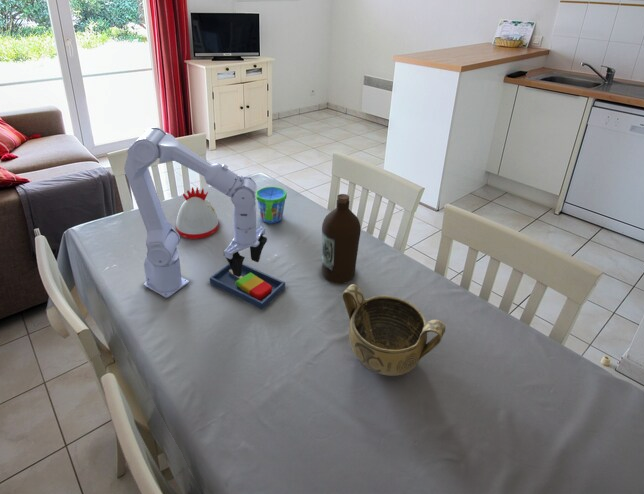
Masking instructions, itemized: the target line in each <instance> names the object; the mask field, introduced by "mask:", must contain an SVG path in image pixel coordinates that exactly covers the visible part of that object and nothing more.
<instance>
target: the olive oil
mask: <svg viewBox="0 0 644 494" xmlns="http://www.w3.org/2000/svg"><path fill="white" fill-rule="evenodd" d="M361 230H362V228H361V223H360V220H359V218H358V216H357V215H356V214H355V213H354V212H353V211H352V210H351V209H350V196H349V194H346V193H339V194H338V195H337V197H336V207H335V208H334V209H333V210H331V211H329V212H328V214H327V215H325V217H324V219H323V221H322V224H321V274H322V276H323V278H324V279H325V280H326V281H328V282H330V283H333V284H338V285H340V284H347V283H349V282H351V281H352V280H353V279H354V278H355V275H356V267H357V259H358V252H359V245H360V239H361Z"/></svg>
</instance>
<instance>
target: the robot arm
mask: <svg viewBox="0 0 644 494" xmlns="http://www.w3.org/2000/svg"><path fill="white" fill-rule="evenodd" d="M126 153H127V154H126V159H125V164H124V167H123V170H124V174H125V177H126V179H127V181H128V184H129V187H130V189H131V192H132V195H133V197H134V200H135V203H136V205H137V208H138V211H139V214H140V216H141V219H142V222H143V225H144V227H145V230H146V237H145V238H146V239H145V246H146V249H147V251H146V256H145V259H144V261H143V268H144V276H145V282H144V283H143V286H144V287H146V288H147V289H149V290H151V291H153V292H155V293H157V294H158V295H160V296H162V297H164V298H166V299H168V298H169V297H171V296H172V295H174V294H175V293H177V292H178V291H179V290H181V289H182V288H184V287H186V285H187V284H189V283H190V282H189V280H188V279H186V278H185V277H182V272H181V270H182V269H181V262H180V261H181V260H180V253H179V251H178V245H179V243H180V242H181V235H179V234H178V232H177V230H175V228H174V227H173V224H172V223H171V222H169V221H167V218H166V215H165V212H164V210H163V207H162V203H161V200H160V198H159V195H158V192H157V189H156V187H155V183H154V181H153V178H152V175H151V171H150V166H151V165H153V164H154V163H155V162H156V161H157V160H158V159H159V162H158V164H164V163H168V162H176V163H178V164H180V165H181V166H184V167H185V168H187V169H189V170H191V171H193V172H195V173H197V174H198V175H201V176H202V177H203V178H204V181H205V183H206V184H207V185H209V186H210V187H212V188H214V189H215V190H217V191H219V192H220V193H222V194H224V195H225V196H227V197H229V198H230V201H231V203H232V205H233V231H234V232H233V233H234V237H233V239H232V240H231V242H229V243H230V244H229V245H228V246H227V247H226V248H225V249H224V251H223V257H224V258H225V259H226V261H227V262H228V264H230V266H231V268H232V271H233V274H234V275H236V276H238V277H240V276H241V273H242V263H243V264H244V260H245V256H243V255H241V253H240V252H241V251H244V250H246V249H249V251H250V260H251V261H253V262H255V263H259V262H260V259H261V255H262V252H263V249H264V247H265V245H266V243H267V242H268V238H267V237H266V236H265V235H266V227H264V226H262V225H258V226H257V202H256V200H257V198H256V192H257V191H258V189H257V184H256V182H255V180H254V179H252V177H251V176H243V175H238V174H237V173H235V172H234V171H232V170H230V169H229V165H227V164H225V163H223V164H220V163H219V162H218V163H210V162H209V161H208V160H205V159H204V158H203V157H201V156H200V155H198V154H197V153H196V152H194V151H193V150H192V149H190V148H188V147H187V146H186V145H184V144H182V143H181V142H180V141H178V139H177V138H176V137H175V136H174V135H173V134H171V133H169V132H166V131H165V130H164V129H162V128H160V127H156V126H154V127H152V126H151V127H149V128H147V129H146V130H144V132H143V133H142V134H141V136H139V138H137V139H136V140H135V141H134V142H133V143H132V144H131V145H130V146H129V148H127V150H126Z"/></svg>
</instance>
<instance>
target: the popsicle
mask: <svg viewBox="0 0 644 494" xmlns="http://www.w3.org/2000/svg"><path fill="white" fill-rule="evenodd" d="M229 272H230V273H232V274H233V271H232V270H229ZM233 275H234V274H233ZM235 276H236V275H235ZM236 277H238V276H236ZM238 278H239V280H237V281H236V282H235V284H236V286H237V287H239V288H240V289H242V290H243V291H245V292H246V293H247V294H249V295H250V296H252V297H253V298H255V299H257V300H262V299H263V298H265V297H266V296H268V295H269V294H270V293H271V292H272V287H271V285H269V284H268V283H266V282H265V281H263V280H262V279H260V278H258V277H257V276H255V275H254V274H252V273H249V274H247V275H245V276H244V277H242V276H240V277H238Z"/></svg>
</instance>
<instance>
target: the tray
mask: <svg viewBox="0 0 644 494" xmlns="http://www.w3.org/2000/svg"><path fill="white" fill-rule="evenodd" d="M229 270H232V268H231V266H230V264H229V263H228V264H225V266H223V267H222V268H220V270H218V271H216V273H213V275H212V276H210V277H209V284H210V285H212V286H214V287H215V288H218V289H220V290H221V291H224V292H226V293H228V294H230V295H232V296H234V297H235V298H238V299H240V300H242V301H243V302H245V303H248V304H250V305H252V306H254V307H256V308H258V309H260V310H264V309H265V308H266V307H267V306H269V304H270V303H271V302H272V301H274V300H275V299H276V297H277V296H279V295H280V294H281V293H282V292H283V291H284V290H285V289H286V281H283V280H281V279H278V278H276V277H274V276H272V275H270V274H267V273H265V272H263V271H261V270H258V269H257V268H254V267H252V266H249V265H248V264H245V263H244V262H243V263H242V273H241V276H242V277H244V276H245V275H247V274H249V273H252V274H254V275H255V276H257V277H258V278H260V279H262V280H263V281H265V282H266V283H268V284H269V285H271V287H272V292H271V293H270V294H269V295H268V296H266V297H265V298H263V299H262V300H257V299H255V298H253V297H252V296H250V295H249V294H247V293H246V292H245V291H243V290H242V289H240V288H239V287H237V286H236V284H235V282H236V281H237V280H239V278H238V277H236V276H235V275H233V274H232V273H230V272H229Z"/></svg>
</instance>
